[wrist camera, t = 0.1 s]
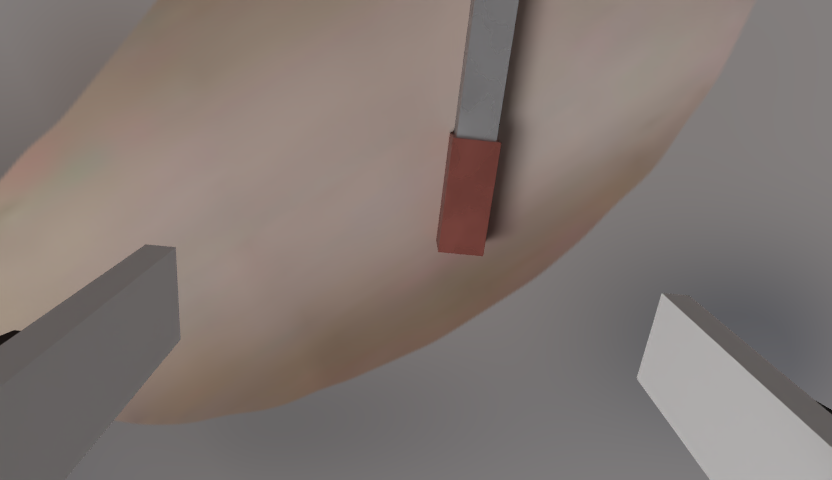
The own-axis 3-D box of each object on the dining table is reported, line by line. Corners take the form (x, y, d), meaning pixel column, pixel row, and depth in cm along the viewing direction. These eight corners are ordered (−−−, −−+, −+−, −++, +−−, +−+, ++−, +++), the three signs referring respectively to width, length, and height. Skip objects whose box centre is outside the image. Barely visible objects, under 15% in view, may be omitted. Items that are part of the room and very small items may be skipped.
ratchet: (465, -197, 33) (482, -275, 25) (571, -183, 33) (619, -255, 26) (416, 238, 43) (418, 276, 35) (498, 246, 43) (517, 285, 35)
